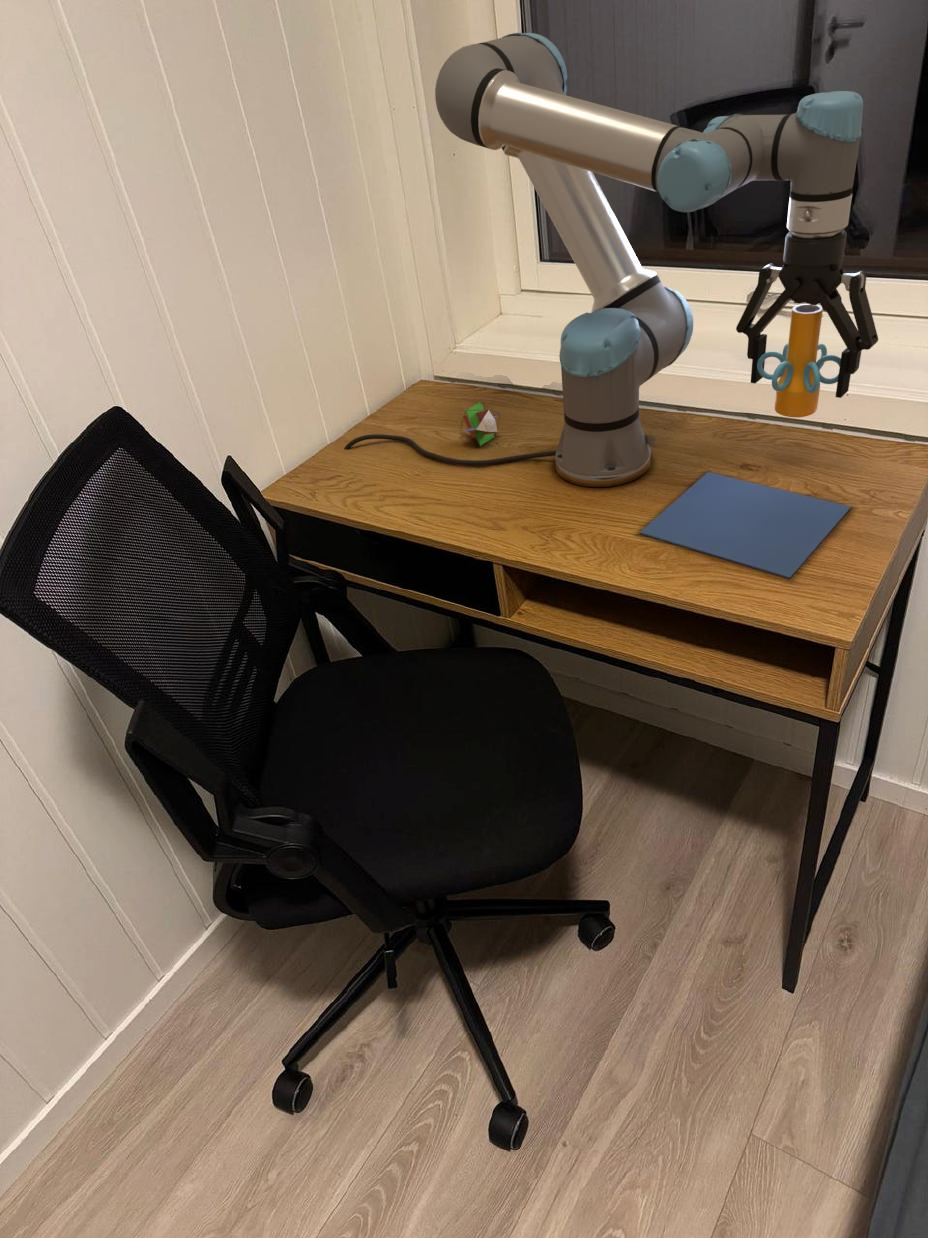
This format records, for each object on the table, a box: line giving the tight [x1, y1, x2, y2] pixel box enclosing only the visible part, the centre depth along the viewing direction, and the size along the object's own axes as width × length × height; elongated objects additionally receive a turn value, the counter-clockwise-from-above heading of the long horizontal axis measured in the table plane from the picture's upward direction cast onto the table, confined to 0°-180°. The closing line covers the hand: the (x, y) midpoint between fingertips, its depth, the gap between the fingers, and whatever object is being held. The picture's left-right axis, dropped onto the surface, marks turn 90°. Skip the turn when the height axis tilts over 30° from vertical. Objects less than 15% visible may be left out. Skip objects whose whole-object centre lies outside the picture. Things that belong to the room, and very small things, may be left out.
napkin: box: [639, 471, 852, 580], centre depth 121 cm, size 22×20×1 cm
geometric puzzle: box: [459, 400, 501, 447], centre depth 150 cm, size 7×7×8 cm
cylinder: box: [757, 303, 841, 418], centre depth 123 cm, size 12×10×15 cm
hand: (798, 386), depth 125 cm, fingers closed on cylinder, 12 cm apart
